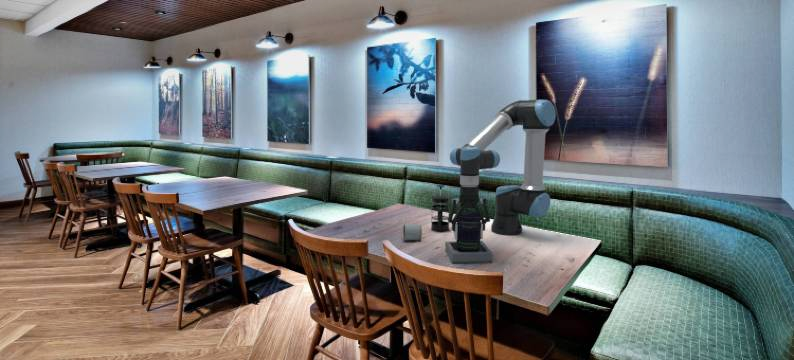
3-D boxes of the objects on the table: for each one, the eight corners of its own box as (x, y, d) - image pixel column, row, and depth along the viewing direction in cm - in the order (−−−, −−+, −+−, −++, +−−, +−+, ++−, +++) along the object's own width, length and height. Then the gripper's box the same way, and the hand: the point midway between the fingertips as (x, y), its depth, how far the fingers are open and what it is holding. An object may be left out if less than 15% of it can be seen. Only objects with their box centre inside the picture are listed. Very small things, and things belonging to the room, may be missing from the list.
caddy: (481, 249, 181) (482, 240, 180) (492, 262, 165) (492, 252, 164) (445, 250, 180) (445, 241, 179) (452, 263, 164) (452, 253, 164)
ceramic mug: (422, 241, 192) (422, 225, 191) (404, 242, 191) (404, 226, 190) (418, 235, 203) (418, 220, 202) (401, 236, 202) (401, 221, 201)
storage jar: (454, 246, 177) (454, 211, 174) (476, 245, 177) (477, 211, 175) (458, 253, 167) (459, 217, 165) (482, 253, 167) (483, 217, 165)
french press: (431, 226, 219) (432, 183, 216) (449, 227, 218) (450, 183, 214) (429, 232, 208) (430, 187, 204) (448, 233, 206) (449, 187, 203)
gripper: (443, 187, 164) (442, 242, 167) (499, 186, 165) (497, 240, 168) (440, 184, 171) (439, 236, 174) (494, 183, 172) (492, 235, 176)
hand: (468, 238), depth 171 cm, fingers closed on storage jar, 10 cm apart
